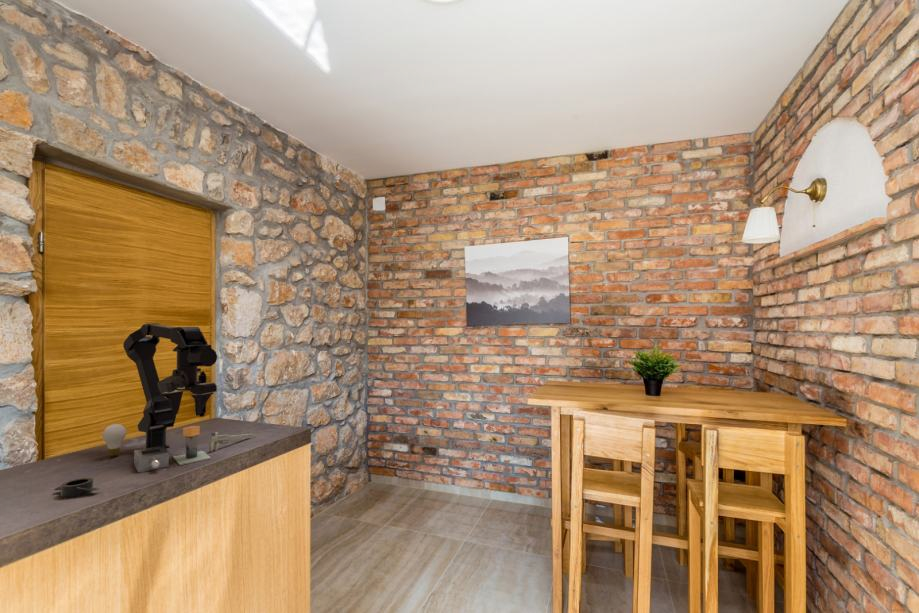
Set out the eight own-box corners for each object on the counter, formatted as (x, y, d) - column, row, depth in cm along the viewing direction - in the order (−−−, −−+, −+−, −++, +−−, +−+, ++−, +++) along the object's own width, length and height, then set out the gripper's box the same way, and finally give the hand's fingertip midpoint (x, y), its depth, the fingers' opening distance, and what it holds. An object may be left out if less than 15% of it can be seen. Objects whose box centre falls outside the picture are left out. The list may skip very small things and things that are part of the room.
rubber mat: (173, 457, 130) (173, 456, 130) (202, 452, 136) (202, 450, 136) (179, 465, 123) (179, 463, 123) (210, 459, 128) (210, 457, 128)
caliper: (211, 453, 135) (211, 433, 135) (208, 453, 135) (208, 433, 135) (257, 436, 155) (257, 419, 155) (254, 436, 155) (254, 419, 155)
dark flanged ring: (94, 484, 109) (94, 473, 109) (101, 494, 103) (101, 482, 103) (52, 494, 104) (53, 481, 104) (57, 505, 97) (58, 492, 97)
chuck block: (133, 464, 124) (134, 450, 125) (162, 458, 129) (162, 445, 129) (140, 476, 114) (140, 461, 114) (171, 470, 119) (171, 455, 119)
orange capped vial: (191, 455, 131) (191, 425, 132) (199, 455, 130) (199, 425, 131) (183, 458, 128) (183, 428, 129) (191, 458, 127) (191, 428, 128)
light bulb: (127, 456, 132) (128, 423, 133) (103, 460, 128) (104, 427, 128) (124, 452, 136) (124, 421, 137) (100, 456, 132) (101, 424, 132)
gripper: (140, 367, 131) (139, 418, 131) (187, 368, 126) (186, 422, 125) (174, 364, 142) (173, 411, 141) (218, 365, 136) (217, 414, 136)
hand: (186, 414), depth 136 cm, fingers open, 9 cm apart
